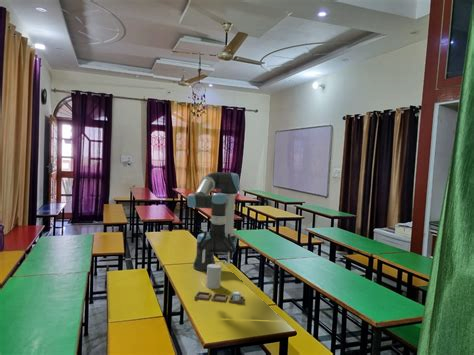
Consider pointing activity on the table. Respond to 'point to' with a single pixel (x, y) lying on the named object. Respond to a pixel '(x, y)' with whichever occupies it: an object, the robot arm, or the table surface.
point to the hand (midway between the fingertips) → (215, 263)
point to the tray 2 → (219, 297)
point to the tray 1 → (202, 295)
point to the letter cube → (236, 296)
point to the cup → (213, 276)
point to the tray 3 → (236, 301)
